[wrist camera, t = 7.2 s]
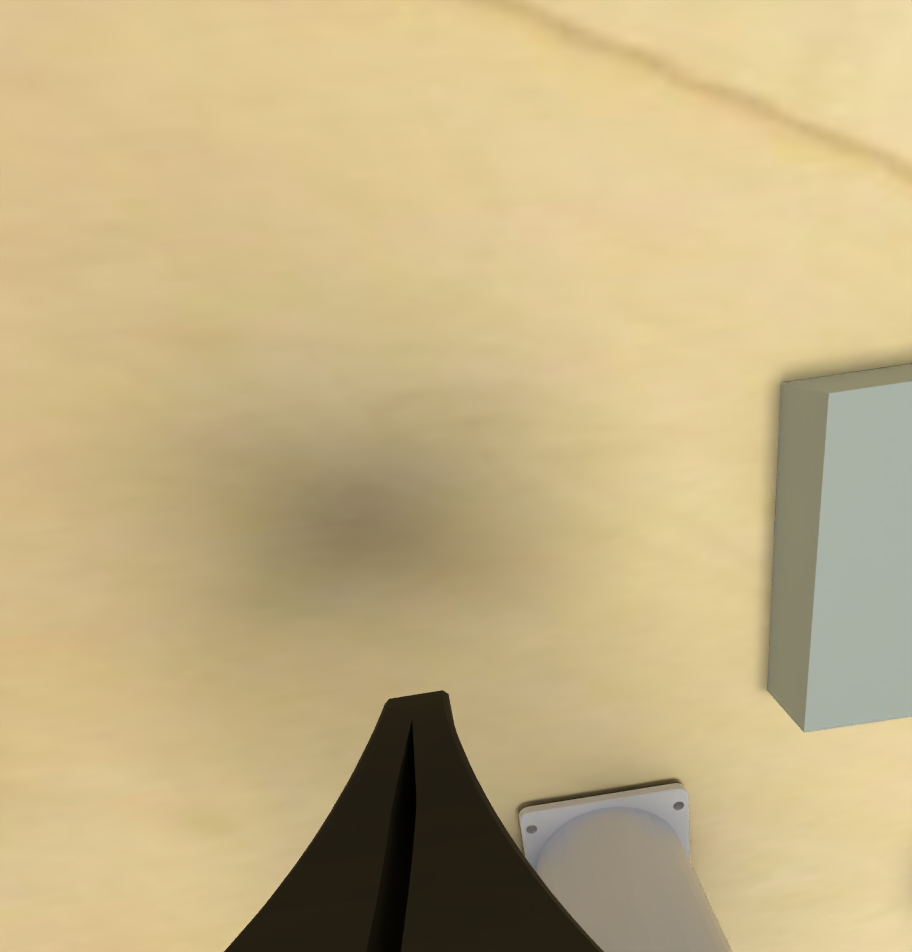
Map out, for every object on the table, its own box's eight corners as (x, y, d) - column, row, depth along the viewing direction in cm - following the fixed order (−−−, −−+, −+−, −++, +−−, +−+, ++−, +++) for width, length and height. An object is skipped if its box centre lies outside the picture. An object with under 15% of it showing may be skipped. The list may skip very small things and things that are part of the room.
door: (954, 655, 25) (1025, 702, 22) (761, 683, 25) (806, 735, 22) (1006, 347, 21) (1103, 354, 18) (773, 381, 21) (832, 393, 18)
